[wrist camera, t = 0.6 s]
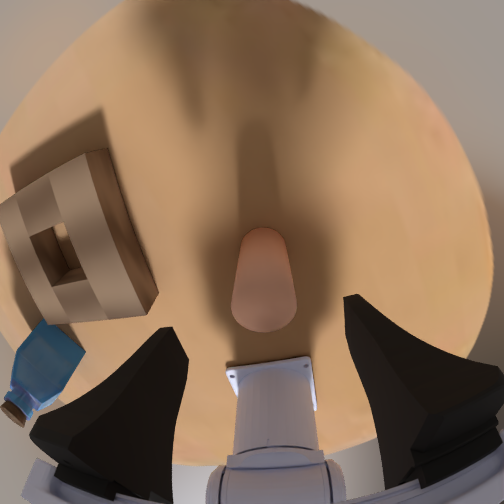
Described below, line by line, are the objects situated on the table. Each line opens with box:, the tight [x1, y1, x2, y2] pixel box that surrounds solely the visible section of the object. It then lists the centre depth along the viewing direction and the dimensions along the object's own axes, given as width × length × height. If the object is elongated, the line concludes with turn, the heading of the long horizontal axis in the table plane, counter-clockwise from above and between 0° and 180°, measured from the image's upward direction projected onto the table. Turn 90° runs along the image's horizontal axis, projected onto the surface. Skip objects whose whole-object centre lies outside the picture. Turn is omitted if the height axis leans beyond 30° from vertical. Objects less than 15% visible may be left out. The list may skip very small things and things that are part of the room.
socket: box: [0, 148, 159, 325], centre depth 19 cm, size 12×12×3 cm
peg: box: [231, 227, 297, 332], centre depth 17 cm, size 3×3×7 cm
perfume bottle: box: [0, 318, 86, 427], centre depth 20 cm, size 6×6×12 cm
